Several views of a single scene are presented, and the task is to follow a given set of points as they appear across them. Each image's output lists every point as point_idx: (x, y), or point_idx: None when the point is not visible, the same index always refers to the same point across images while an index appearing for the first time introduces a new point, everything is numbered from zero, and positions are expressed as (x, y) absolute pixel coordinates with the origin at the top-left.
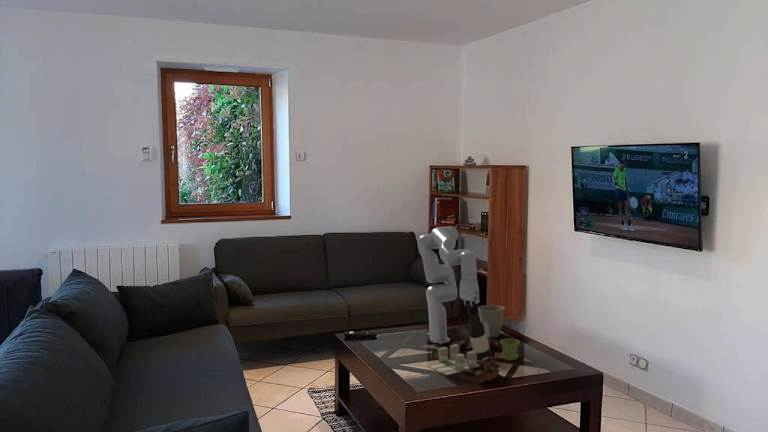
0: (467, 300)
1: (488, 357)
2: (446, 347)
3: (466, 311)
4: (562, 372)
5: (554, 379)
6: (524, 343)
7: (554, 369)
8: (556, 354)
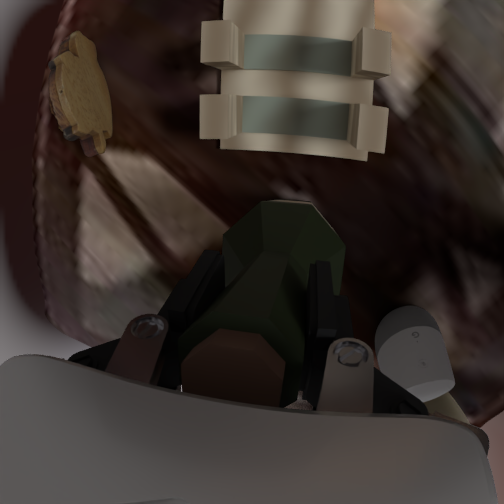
0: (144, 383)
1: (58, 103)
2: (373, 71)
3: (310, 281)
4: (69, 290)
5: (42, 242)
6: (303, 400)
7: (90, 295)
8: None
